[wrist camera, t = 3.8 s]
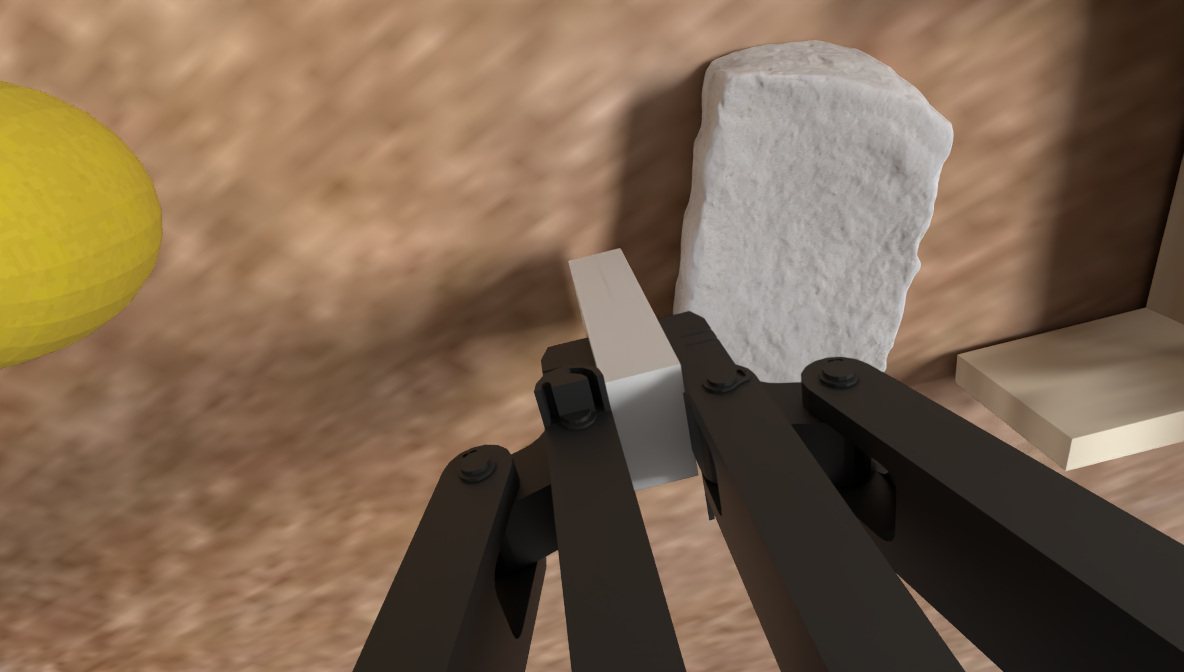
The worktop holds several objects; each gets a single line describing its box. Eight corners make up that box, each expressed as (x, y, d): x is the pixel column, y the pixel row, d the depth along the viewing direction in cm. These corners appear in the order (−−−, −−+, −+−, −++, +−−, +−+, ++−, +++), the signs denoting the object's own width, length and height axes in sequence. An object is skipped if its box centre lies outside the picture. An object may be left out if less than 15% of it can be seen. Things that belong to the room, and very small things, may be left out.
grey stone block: (701, 64, 20) (714, -8, 15) (903, 80, 20) (1001, 10, 14) (663, 364, 22) (662, 404, 16) (849, 387, 21) (917, 439, 15)
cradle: (955, 382, 23) (1065, 470, 18) (996, -85, 16) (1188, -125, 11) (1177, 326, 23) (1340, 401, 18) (1312, -159, 16) (1622, -227, 12)
